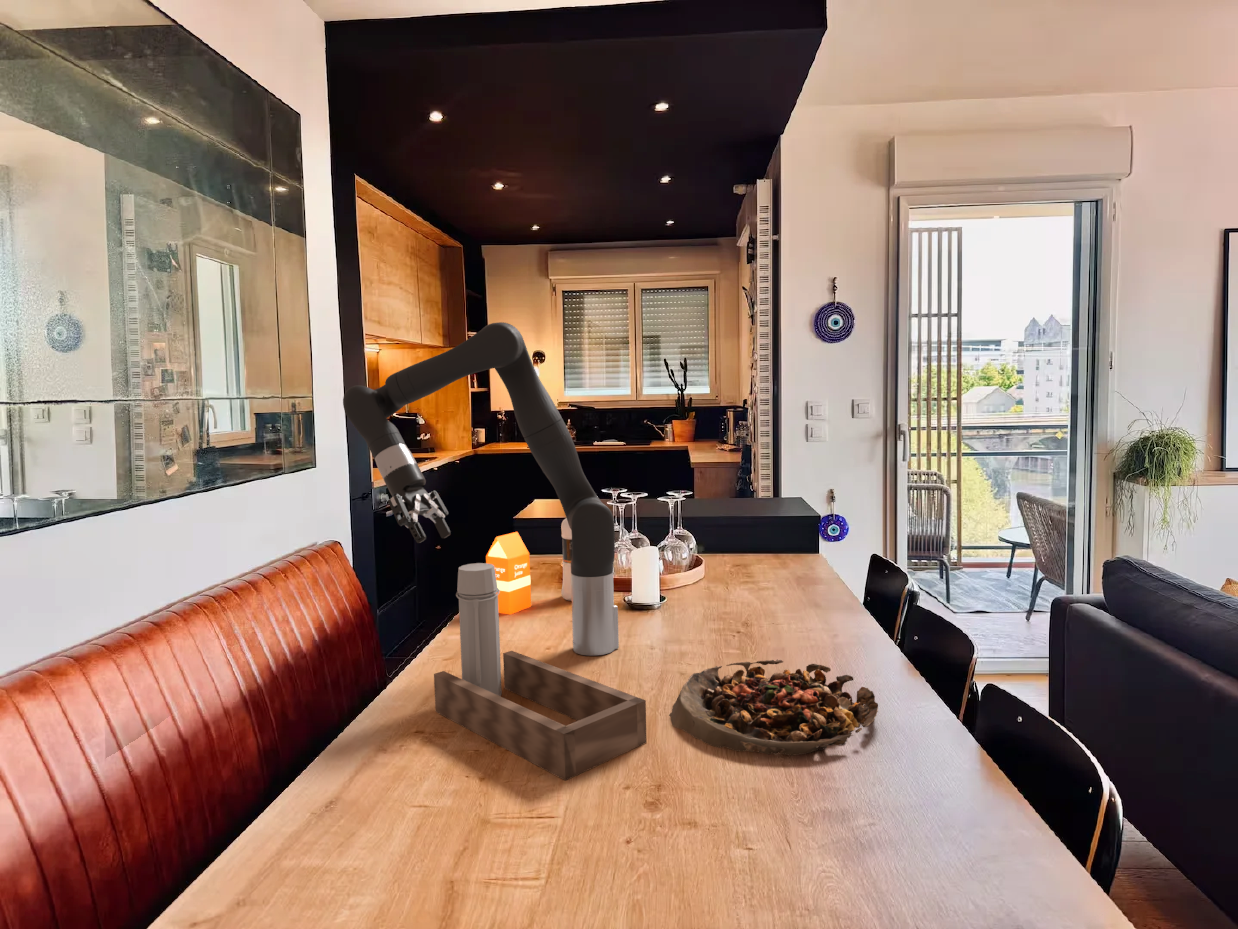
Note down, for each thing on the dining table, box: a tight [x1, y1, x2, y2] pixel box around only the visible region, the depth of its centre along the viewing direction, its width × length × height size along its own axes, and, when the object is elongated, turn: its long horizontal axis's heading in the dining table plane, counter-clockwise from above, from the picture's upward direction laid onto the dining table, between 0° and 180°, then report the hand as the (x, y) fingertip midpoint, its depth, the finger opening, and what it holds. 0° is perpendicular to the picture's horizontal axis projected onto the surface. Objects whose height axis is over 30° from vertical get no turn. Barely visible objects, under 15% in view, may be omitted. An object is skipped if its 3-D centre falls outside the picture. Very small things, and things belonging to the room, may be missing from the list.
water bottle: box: [455, 562, 503, 697], centre depth 142 cm, size 9×8×25 cm
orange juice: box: [485, 531, 532, 615], centre depth 205 cm, size 8×9×20 cm
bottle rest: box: [433, 650, 647, 781], centre depth 132 cm, size 36×17×7 cm, turn 44°
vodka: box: [560, 518, 572, 602], centre depth 214 cm, size 9×9×30 cm
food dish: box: [668, 659, 879, 756], centre depth 134 cm, size 35×33×8 cm
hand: (434, 538), depth 159 cm, fingers open, 8 cm apart
